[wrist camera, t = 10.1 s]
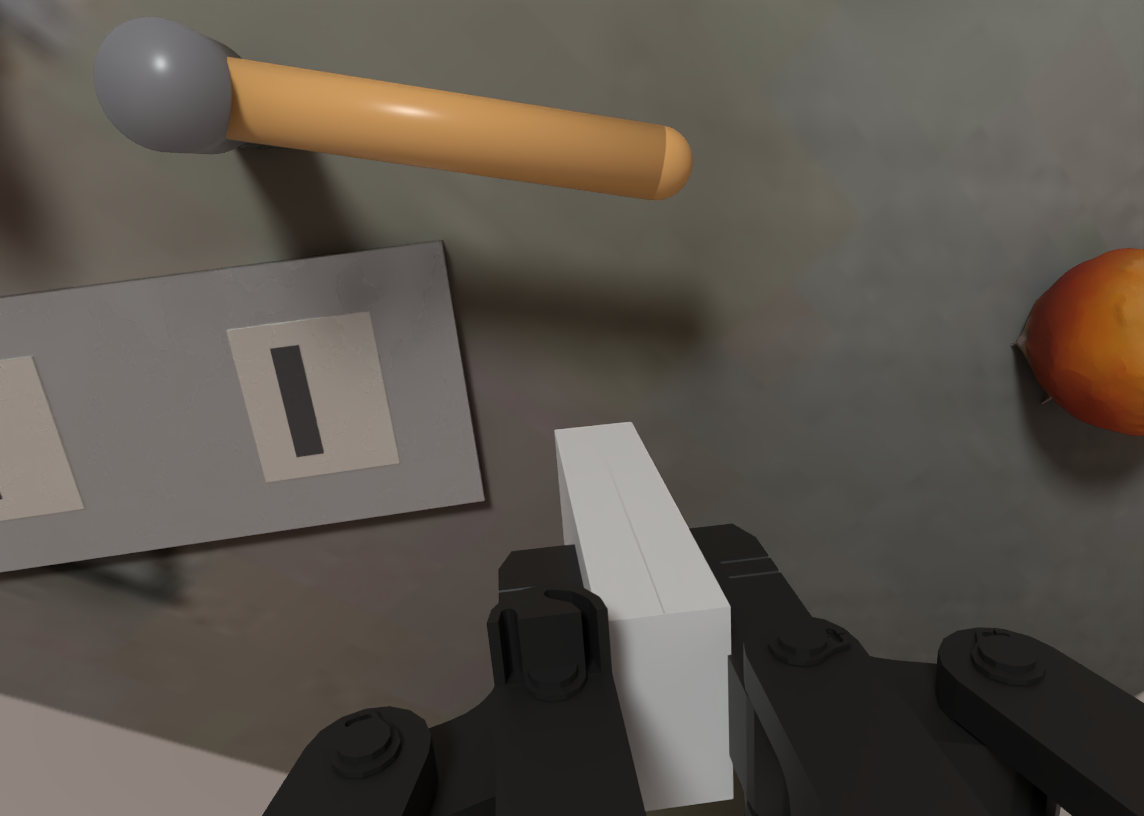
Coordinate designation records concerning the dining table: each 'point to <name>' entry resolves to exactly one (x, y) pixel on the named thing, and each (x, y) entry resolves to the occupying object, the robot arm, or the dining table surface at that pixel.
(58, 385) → the panel
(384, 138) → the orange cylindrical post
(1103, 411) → the fruit
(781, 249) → the dining table surface
